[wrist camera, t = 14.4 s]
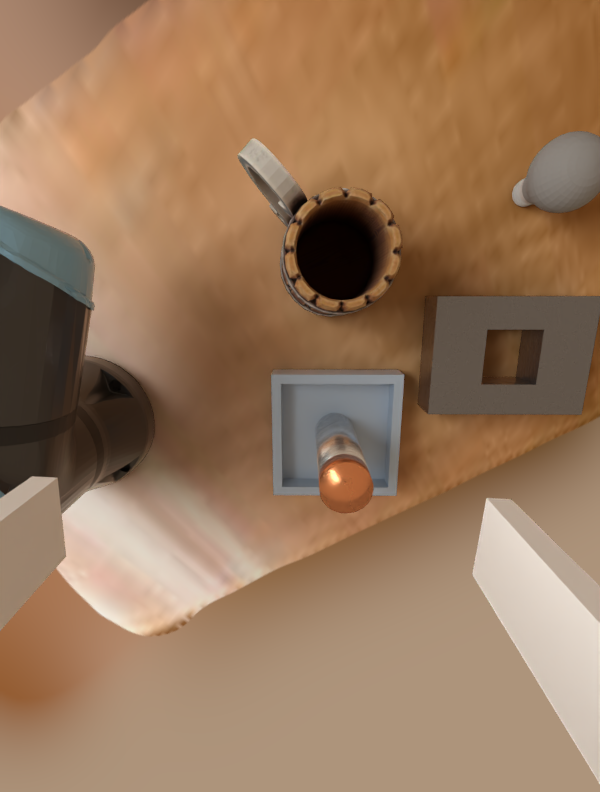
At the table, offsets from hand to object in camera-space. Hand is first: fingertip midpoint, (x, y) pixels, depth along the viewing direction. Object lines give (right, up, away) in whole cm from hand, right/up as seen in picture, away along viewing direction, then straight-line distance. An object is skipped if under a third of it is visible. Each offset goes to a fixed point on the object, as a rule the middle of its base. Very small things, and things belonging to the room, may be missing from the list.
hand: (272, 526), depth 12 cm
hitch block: (+22, +9, +32) cm, 40 cm away
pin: (+5, 0, +34) cm, 34 cm away
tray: (+5, 0, +34) cm, 35 cm away
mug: (+2, +20, +30) cm, 36 cm away
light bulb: (+23, +24, +28) cm, 44 cm away
